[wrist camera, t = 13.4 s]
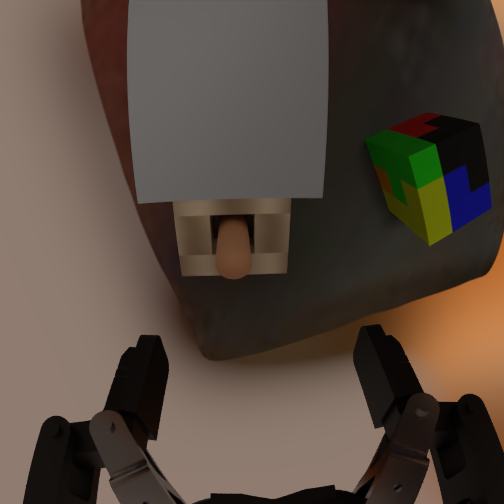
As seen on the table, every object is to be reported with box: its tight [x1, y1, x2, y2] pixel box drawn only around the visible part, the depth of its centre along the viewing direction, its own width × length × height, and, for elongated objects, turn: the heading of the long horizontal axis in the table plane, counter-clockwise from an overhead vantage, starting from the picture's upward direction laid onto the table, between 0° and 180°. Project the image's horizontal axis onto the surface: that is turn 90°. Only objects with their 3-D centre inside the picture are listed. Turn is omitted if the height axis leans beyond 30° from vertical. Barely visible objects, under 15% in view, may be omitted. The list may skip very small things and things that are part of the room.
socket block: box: [173, 198, 291, 276], centre depth 31 cm, size 12×18×4 cm, turn 0°
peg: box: [215, 214, 252, 279], centre depth 30 cm, size 3×3×10 cm
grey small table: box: [127, 0, 328, 204], centre depth 22 cm, size 13×16×13 cm
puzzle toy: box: [364, 113, 492, 246], centre depth 28 cm, size 10×10×10 cm
